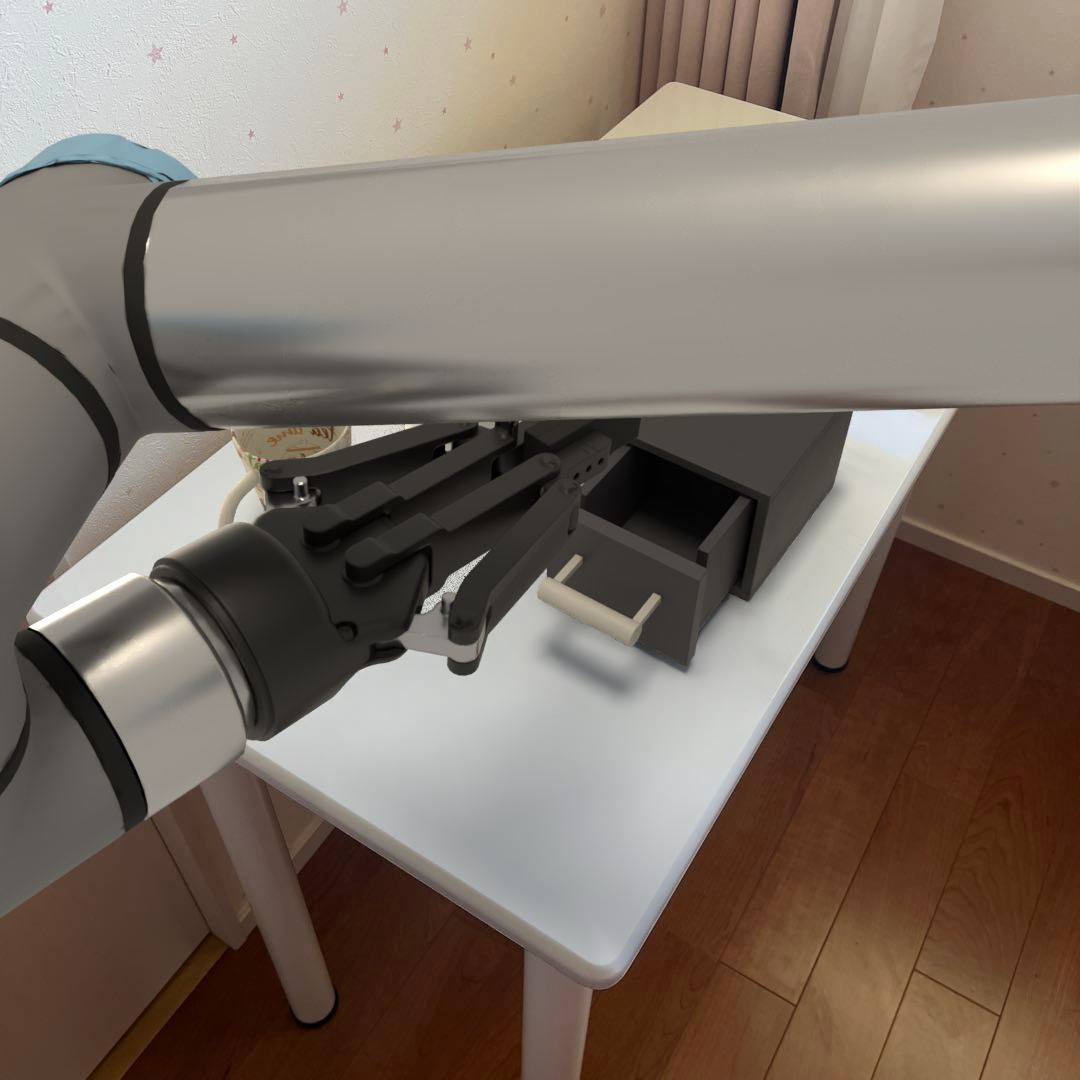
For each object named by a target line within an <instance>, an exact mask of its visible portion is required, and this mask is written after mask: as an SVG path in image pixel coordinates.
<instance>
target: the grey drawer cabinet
mask: <svg viewBox="0 0 1080 1080" xmlns="http://www.w3.org/2000/svg"><path fill="white" fill-rule="evenodd" d="M853 414H854V411H845V412H811V413H777V414H743V415H709V416H675V417H641V422H640V428H639V434H638V437H637V438H635V439H633V440H632V441H630V442H628V443H629V444H632V445H634V446H636V447H639V448H641V449H643V450H645V451H648V452H650V453H652V454H654V455H657V456H659V457H661V458H663V459H666V460H668V461H670V462H673V463H675V464H677V465H679V466H682V467H684V468H686V469H688V470H691V471H693V472H695V473H697V474H700V475H702V476H704V477H707V478H709V479H711V480H713V481H716V482H718V483H720V484H722V485H725V486H727V487H729V488H731V489H734V490H736V491H738V492H741V493H743V494H745V495H747V496H750V497H752V498H754V499H756V500H758V504H757V509H756V514H755V519H754V524H753V530H752V535H751V540H750V545H749V550H748V555H747V560H746V565H745V570H744V571H743V573H742V574H741V575H740V577H739V578H738V579H737V581H736V582H735V583H734V585H733V586H732V587H731V589H730V590H729V591H728V593H731V594H732V595H735V596H736V597H739V598H740V599H743V600H745V601H746V602H750V601H751V599H752V598H753V597H754V595H755V594H756V593H757V591H758V590H759V588H760V587H761V586H762V584H763V583H764V581H765V580H766V579H767V577H769V575H770V573H771V572H772V571H773V569H774V568H775V566H776V565H777V564H778V562H779V561H780V560H781V559H782V557H783V556H784V554H785V553H786V551H787V550H788V549H789V547H790V546H791V544H792V543H793V542H794V540H795V539H796V537H797V536H798V535H799V533H800V532H801V531H802V529H803V528H804V526H805V525H806V524H807V523H808V521H809V520H810V519H811V517H812V515H814V513H815V511H816V510H817V509H818V508H819V506H820V505H821V503H822V502H823V501H824V499H825V498H826V496H827V495H828V494H829V492H830V491H831V490H832V488H833V487H834V485H835V482H836V478H837V475H838V472H839V467H840V463H841V459H842V455H843V452H844V448H845V444H846V441H847V437H848V432H849V430H850V426H851V422H852V417H853ZM612 453H613V452H612ZM612 453H610V455H611V454H612ZM610 455H609V456H610Z"/></svg>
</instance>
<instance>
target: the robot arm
mask: <svg viewBox="0 0 1080 1080" xmlns="http://www.w3.org/2000/svg"><path fill="white" fill-rule="evenodd" d="M1076 405H1077V406H1078V405H1079V406H1080V93H1074V94H1064V95H1054V96H1041V97H1032V98H1031V97H1030V98H1022V99H1012V100H1010V99H1009V100H1001V101H990V102H981V103H970V104H969V103H968V104H960V105H949V106H939V107H928V108H917V109H907V110H897V111H888V112H887V111H886V112H876V113H866V114H855V115H845V116H844V115H843V116H835V117H823V118H814V119H803V120H794V121H793V120H792V121H782V122H773V123H763V124H761V123H760V124H752V125H739V126H732V127H721V128H711V129H699V130H690V131H679V132H678V131H677V132H668V133H667V132H666V133H658V134H647V135H646V134H645V135H638V136H628V137H627V136H626V137H617V138H616V137H615V138H607V139H605V138H604V139H598V140H597V139H595V140H586V141H585V140H584V141H576V142H575V141H574V142H565V143H563V142H562V143H553V144H544V145H534V146H523V147H512V148H503V149H501V148H500V149H492V150H491V149H490V150H480V151H471V152H459V153H449V154H439V155H430V156H428V155H427V156H418V157H408V158H398V159H387V160H378V161H377V160H376V161H367V162H357V163H346V164H336V165H326V166H314V167H304V168H293V169H284V170H283V169H282V170H271V171H264V172H253V173H252V172H251V173H242V174H231V175H222V176H211V177H201V178H200V177H198V176H197V175H196V174H195V173H194V172H193V171H191V170H190V169H189V168H188V167H187V166H186V165H185V164H183V163H182V162H181V161H179V160H178V159H177V158H175V157H173V156H172V155H170V154H168V153H166V152H164V151H163V150H161V149H159V148H149V147H147V146H144V145H142V144H140V143H137V142H135V141H132V140H129V139H127V138H126V137H124V136H122V135H120V134H112V133H97V132H95V133H94V132H93V133H92V132H90V133H84V134H77V135H74V136H73V135H72V136H69V137H65V138H63V139H61V140H60V139H59V140H58V141H57V142H54V143H53V144H51V145H48V146H47V147H45V148H44V149H43V150H42V151H40V152H39V153H38V154H37V155H35V156H34V157H33V158H32V159H30V161H28V162H27V163H26V164H25V165H23V166H22V167H20V168H18V169H16V170H13V171H12V172H9V173H7V174H6V176H5V177H4V178H3V179H2V180H1V181H0V919H1V918H3V917H4V916H6V915H7V914H8V913H10V912H12V911H13V910H14V909H16V908H18V907H19V906H21V905H22V904H24V903H25V902H26V901H28V900H29V899H31V898H32V897H34V896H35V895H36V894H38V893H39V892H42V891H43V890H44V889H45V888H47V887H48V886H50V885H51V884H53V883H55V882H56V881H57V880H59V879H60V878H62V877H63V876H64V875H66V874H68V873H69V872H70V871H72V870H74V869H75V868H76V867H78V866H79V865H80V864H82V863H84V862H86V861H87V860H89V859H90V858H91V857H92V856H94V855H96V854H97V853H99V852H101V850H103V849H104V848H106V847H108V846H109V845H110V844H112V843H113V842H115V841H116V840H118V839H119V838H121V837H122V835H125V834H126V833H127V832H129V831H130V830H133V829H134V828H135V827H137V826H139V825H140V824H142V823H143V822H144V821H147V820H148V819H150V818H151V817H153V816H154V815H156V814H158V813H159V812H160V811H162V810H163V809H165V808H167V807H168V806H169V805H171V804H172V803H174V802H175V801H177V800H178V799H180V798H181V797H183V796H184V795H186V794H188V793H189V792H190V791H192V790H194V789H195V788H196V787H198V786H199V785H201V784H203V783H204V782H206V781H208V779H210V778H212V777H213V776H215V775H216V774H218V773H219V772H221V771H222V770H224V769H225V768H227V767H228V766H230V765H231V764H233V763H234V762H236V761H237V760H238V759H240V758H241V757H243V755H245V752H246V748H247V747H246V746H247V741H254V742H255V741H256V742H268V741H270V740H272V739H273V738H274V737H276V736H277V735H278V734H280V733H281V732H283V731H285V730H286V729H288V728H289V727H291V726H292V725H294V724H295V723H297V722H298V721H300V720H301V719H303V718H304V717H306V716H307V715H309V714H310V713H312V712H314V711H315V710H317V709H319V708H320V707H321V706H322V705H324V704H325V703H327V702H328V701H330V700H331V699H333V698H334V697H335V696H336V695H337V694H338V693H339V692H340V691H341V690H342V689H343V688H344V687H345V685H346V684H347V683H348V682H349V681H350V680H351V679H352V678H353V677H354V676H355V675H356V674H357V673H359V671H361V670H363V669H367V668H368V667H372V666H376V665H381V664H387V663H391V662H394V661H396V660H398V659H400V658H402V656H404V655H405V654H406V653H407V652H408V651H409V650H410V651H415V652H421V653H425V654H430V655H436V656H441V657H446V667H447V669H448V670H449V671H450V672H451V673H452V674H453V675H456V676H459V677H467V676H471V675H472V674H474V673H475V672H477V671H478V669H479V667H480V663H481V661H482V657H483V654H484V651H485V647H486V644H487V640H488V637H489V635H490V634H491V633H492V631H493V630H494V629H495V628H496V627H497V626H498V625H499V624H500V622H501V621H503V619H504V618H505V617H506V616H507V614H508V613H509V612H510V611H511V610H512V608H513V607H514V606H515V605H516V604H517V603H518V602H519V601H520V600H521V598H522V597H523V596H524V595H525V594H526V593H527V591H528V590H529V589H530V588H531V587H532V585H534V584H535V582H537V580H538V579H539V578H540V577H541V576H542V575H543V573H544V572H545V571H547V567H548V566H549V565H550V564H551V563H552V562H553V561H554V559H555V558H556V557H557V556H558V555H559V554H560V553H561V551H562V550H563V549H564V548H565V547H566V546H567V545H568V543H569V542H570V541H571V540H572V539H573V538H574V537H575V535H576V532H577V524H578V517H579V509H580V501H581V493H582V487H581V486H582V485H583V484H584V483H585V482H587V481H588V480H589V479H591V478H593V477H595V475H598V474H599V473H601V472H603V471H604V470H605V468H606V467H607V465H608V462H609V455H610V453H612V452H614V451H615V450H617V449H619V448H620V447H622V446H624V445H625V444H627V443H628V442H630V441H632V440H633V439H635V438H637V437H638V434H639V428H640V422H641V417H675V416H709V415H743V414H777V413H811V412H845V411H853V412H874V411H907V410H910V411H911V410H943V409H946V410H947V409H971V408H972V409H974V408H975V409H977V408H1010V407H1012V408H1013V407H1015V408H1016V407H1043V406H1045V407H1046V406H1048V407H1049V406H1076ZM479 422H495V427H494V428H492V429H489V428H486V427H483V426H480V425H479ZM405 424H422V425H419V426H415V427H412V428H409V429H406V428H405V429H402V430H399V431H395V432H393V433H389V434H386V435H382V436H380V437H379V436H378V437H376V438H373V439H370V440H365V441H363V442H360V443H356V444H353V445H351V446H349V447H346V448H343V449H340V450H336V451H333V452H330V453H326V454H323V455H320V456H317V457H310V458H296V459H283V460H272V461H268V462H265V463H263V464H262V465H261V466H260V469H259V474H260V482H261V490H262V497H263V505H264V508H263V512H262V513H260V514H259V515H257V516H256V517H255V518H254V519H253V520H252V522H251V523H249V522H244V521H243V522H242V521H236V522H235V521H233V523H230V524H227V525H224V526H223V527H221V528H219V529H218V528H217V529H215V530H213V531H211V532H209V533H207V534H205V535H203V536H202V537H199V538H198V539H195V540H194V541H191V542H190V543H188V544H186V545H184V546H182V547H180V548H178V549H176V550H174V551H172V552H170V553H168V554H167V555H165V556H163V557H160V558H159V559H157V560H156V561H155V562H154V564H153V566H152V569H151V571H150V573H149V576H147V575H143V574H140V573H135V572H130V573H128V574H126V575H124V576H121V578H119V579H117V580H115V581H113V582H111V583H109V584H107V585H105V586H103V587H101V588H100V589H98V590H96V591H94V592H92V593H90V594H88V595H85V597H83V598H80V599H78V600H77V601H75V602H73V603H71V604H69V605H67V606H66V607H64V608H61V609H60V610H58V611H56V612H53V613H51V614H50V615H48V616H46V617H45V618H42V619H40V620H39V621H37V622H35V623H33V624H31V625H30V626H28V627H26V628H22V629H21V630H20V627H21V625H22V624H23V622H24V620H25V619H26V617H28V614H29V612H30V611H31V609H32V608H33V606H34V605H35V603H36V602H37V599H38V598H39V597H40V595H41V594H42V592H43V590H44V588H45V587H46V586H47V584H48V582H50V581H49V580H50V579H51V577H53V575H54V573H55V571H56V570H57V568H58V566H59V565H60V563H61V561H62V560H63V558H64V557H65V555H66V553H68V550H69V549H70V547H71V545H72V544H73V542H74V541H75V539H76V538H77V536H78V535H79V533H80V531H81V529H82V528H83V526H84V524H85V523H86V521H87V519H88V518H89V516H90V515H91V514H92V511H93V510H94V508H95V507H96V505H97V504H98V502H99V501H100V499H101V498H102V497H103V496H104V495H105V493H106V491H107V489H108V487H109V486H110V484H111V483H112V481H113V480H114V478H115V476H116V473H117V472H118V471H119V469H120V467H121V466H122V464H123V463H124V462H125V460H126V458H127V457H128V456H129V455H130V453H131V451H132V450H133V448H134V447H135V446H136V444H137V443H138V441H139V440H140V439H142V438H144V437H146V436H148V435H153V434H178V433H185V434H186V433H205V432H221V431H229V430H230V431H231V430H233V429H267V428H301V427H335V426H351V427H365V426H366V427H367V426H368V427H369V426H396V425H397V426H399V425H402V426H403V425H405ZM448 443H451V450H450V451H446V450H445V444H448ZM483 555H484V556H483ZM481 556H483V557H482V558H481V559H480V560H479V561H478V562H477V563H476V564H475V565H474V566H473V567H472V568H471V569H470V571H469V572H468V573H467V574H466V575H465V577H464V578H463V579H462V581H461V583H460V585H458V589H457V591H456V592H453V591H446V592H444V593H442V595H441V598H440V599H441V600H439V601H438V602H437V603H436V604H435V605H434V606H433V607H432V608H431V609H430V610H429V611H426V612H424V613H423V612H422V611H423V607H424V604H425V601H426V600H427V599H428V598H430V597H432V596H434V595H435V594H437V593H438V592H439V591H441V590H442V589H443V587H444V586H445V584H446V582H447V580H448V578H449V577H450V576H451V575H453V574H454V573H456V572H458V571H459V570H461V569H463V568H464V567H466V566H467V565H470V564H471V563H473V561H475V560H477V559H479V558H480V557H481Z"/></svg>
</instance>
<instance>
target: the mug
mask: <svg viewBox="0 0 1080 1080" xmlns="http://www.w3.org/2000/svg"><path fill="white" fill-rule="evenodd" d="M230 436H231V439H232V443H233V445H234V448H235V450H236V453H237V455H238V457H239V458H240V461H241V464H242V466H243V468H244V470H245V472H246V474H245V475H244V476H243V477H242V478H240V479H239V481H237V482H236V484H234V486H233V487H232V488H231V489H230V490H229V491H228V493H227V494H226V496H225V498H224V500H223V502H222V506H221V509H220V511H219V517H218V522H217V529H219V528H221V527H223V526H224V525H227V524H230V523H234V522H235V516H236V512H237V510H238V507H239V505H240V503H241V502H242V500H243V499H244V498H245V497H246V495H248V493H250V492H251V491H252V490H253V489H254V491H255V493H256V495H257V497H258V500H259V502H260V504H261V506H262V508H263V509H264V505H263V497H262V490H261V482H260V474H259V469H260V466H261V465H262V464H263V463H265V462H268V461H272V460H283V459H296V458H310V457H317V456H320V455H323V454H326V453H330V452H333V451H336V450H340V449H343V448H346V447H349V446H352V426H335V427H301V428H267V429H233V430H230Z"/></svg>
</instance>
